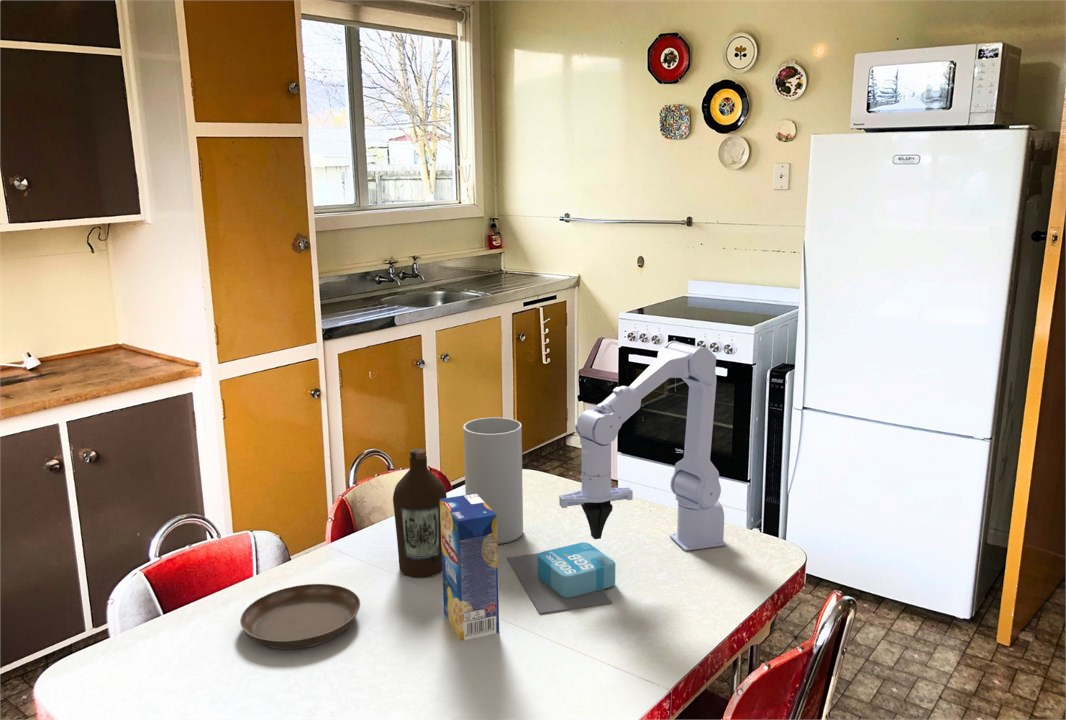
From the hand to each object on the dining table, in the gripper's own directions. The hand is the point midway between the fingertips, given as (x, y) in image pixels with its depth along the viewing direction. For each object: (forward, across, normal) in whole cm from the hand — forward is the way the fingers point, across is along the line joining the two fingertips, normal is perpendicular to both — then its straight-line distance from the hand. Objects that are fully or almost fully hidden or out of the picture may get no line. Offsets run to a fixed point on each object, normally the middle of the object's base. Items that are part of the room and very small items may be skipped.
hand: (596, 537), depth 170 cm
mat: (+8, +8, 0) cm, 11 cm away
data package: (+5, -1, 0) cm, 6 cm away
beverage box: (+8, +28, +11) cm, 31 cm away
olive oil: (+8, +33, -13) cm, 36 cm away
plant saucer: (+8, +57, +3) cm, 57 cm away
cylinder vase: (+8, +15, -25) cm, 30 cm away
